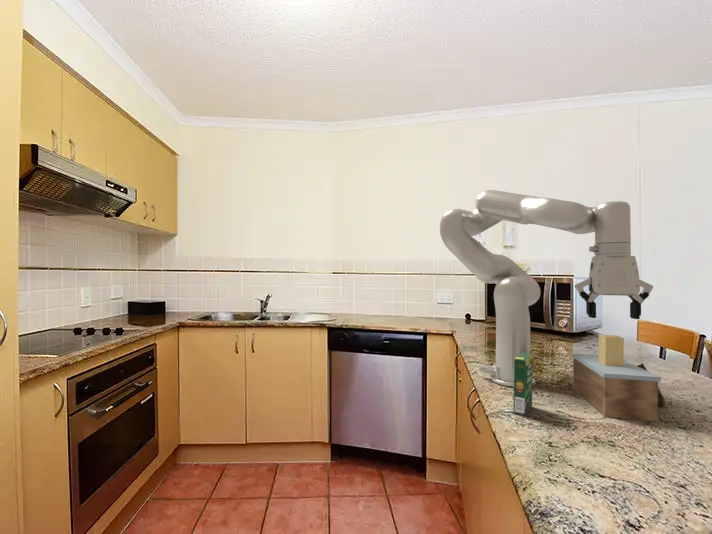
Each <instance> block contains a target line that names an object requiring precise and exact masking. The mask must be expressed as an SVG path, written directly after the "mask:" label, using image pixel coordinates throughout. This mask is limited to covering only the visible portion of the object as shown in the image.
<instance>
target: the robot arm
mask: <svg viewBox="0 0 712 534" xmlns="http://www.w3.org/2000/svg"><path fill="white" fill-rule="evenodd" d="M474 205H475V209H474V210H472V211H470V210H466V209H463V208H462V209H461V208H453V209H450V210H448V211H446V212H445V213H444V214H443V215H442V217H441V219H440V223H439V235H440V237H441V239H442V242H443V244H444V246H445V248H447V249H448V251H449V252H450V253H452V254H453V256H455V257H456V259H458V260H459V261H460V262H461V263H462V264H463V265H464V266H465V267H466V268H467V269H468V270H469V272H470V273H472V274H473V275H474V276H475V277H476V278H477V280H479V281H480V282H482V283H484V284H495V287H494V291H493V301H494V308H495V362H493V365H490V366H488V365H479V372H480V373H484V374H487V375H488V374H490V376H489V377H490V378H489V379H490V381H491V382H493V383H495V384H498V385H501V386H505V387H510V386H511V388H514V359H515V358H516V357H517V356H518V355H519V354H520V353H521V352H524V353H530V354H531V317H530V316H531V315H530V309H529V307H530V306H532V305H535V304H536V302H538V300H539V299H540V297H541V287H540V285H539V283H538V282H537V281H536V280H535V279H534V278H533V277H532V276H531V275H530V274H529V273H528V272H526V271H525V270H524V269H523V268H522V267H520V266H519V265H518V264H517V263H516V262H515V261H513V259H511V258H509V256H506V255H503V254H496V253H492V252H491V251H489V250H488V249H487V248H486V247H485V246H483V245H482V243H480V242H479V241H478V240H477V239H476V238H474V237H475V236H478V235H480V234H482V233H483V232H485V231H487V230H489V229H491V228H493V227H494V226H496V225H497V224H499V223H501V222H503V221H505V222H511V223H516V224H520V225H537V226H543V227H547V228H551V229H557V230H560V231H565V232H570V233H572V234H576V235H586V234H591V233H594V245H593V246H589V248H588V251H589V252H590V253H593V254H594V256H592V257H591V261H590V265H589V266H590V267H589V274H588V278H587V279H584V280H582V281H581V282H578V283H576V284H574V288H575V290H576V291H577V293H578V295H579V296H580V297H581V298H582V299H583V301H584V302H585V303H586V304H585V306H586V308H585V309H586V310H585V311H586V312H585V313H586V314H587V317H588V318H591V319H596V318H597V302H595V300H596V299H597V298H598V296H600V295H601V296H626V297H628V298H629V299H630V300H631V302H629V317H630V318H631V319H634V320H640V316H641V315H642V304H643V303H644V301H645V300H646V299H647V298H649V296H650V293H651V292H652V290H653V288H654V285H652V284H650V283H649V282H645V281H644V280H641V279H640V273H639V267H638V262H637V259H636V256H635V255H632V251H631V250H632V247H631V246H632V244H631V242H632V240H631V239H632V238H631V234H632V233H631V232H632V231H631V230H632V229H631V205H630V204H629V203H628V202H627V201H622V200H621V201H620V200H619V201H614V200H613V201H607V202H601V203H599V204H597V205H596V206H587V205H584V204H583V203H579V202H576V201H570V200H569V201H568V200H563V199H557V198H549V197H543V196H542V197H541V196H536V195H529V194H523V193H515V192H508V191H504V190H503V191H502V190H495V189H487V190H486V189H485V190H484V191H481V192H480V193H479V194H478V195H477V197H476V200H475V204H474ZM587 286H588V291H589V293H587V292H586V291H585V290H584V287H587ZM641 288H642V292H641ZM536 382H537V381H536V380H535V378H533V377H532V387H534V386H535V385H536Z"/></svg>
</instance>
